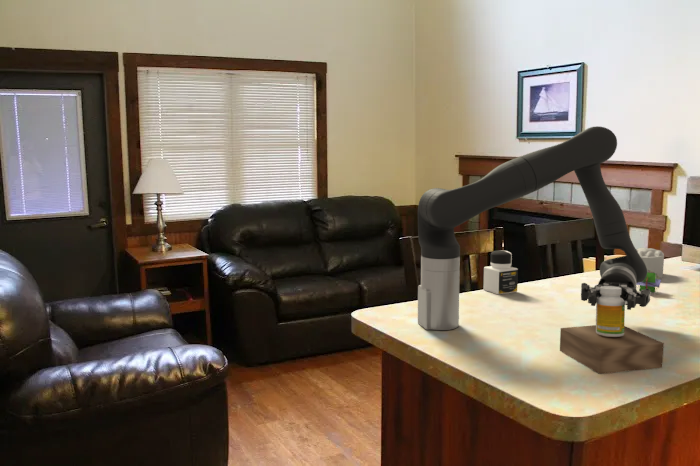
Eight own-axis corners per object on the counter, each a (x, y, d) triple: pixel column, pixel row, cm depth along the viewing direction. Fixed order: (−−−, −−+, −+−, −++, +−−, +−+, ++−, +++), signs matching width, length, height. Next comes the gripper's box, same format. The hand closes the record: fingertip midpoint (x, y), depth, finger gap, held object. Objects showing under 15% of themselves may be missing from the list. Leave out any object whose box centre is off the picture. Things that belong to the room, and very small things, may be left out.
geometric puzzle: (658, 290, 179) (661, 265, 182) (631, 287, 182) (635, 263, 185) (659, 301, 184) (662, 276, 187) (633, 298, 188) (637, 273, 191)
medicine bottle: (498, 295, 184) (499, 254, 182) (482, 289, 190) (483, 250, 188) (517, 292, 187) (519, 252, 185) (501, 287, 193) (502, 248, 192)
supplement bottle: (626, 338, 127) (628, 289, 126) (598, 337, 128) (599, 289, 127) (621, 331, 132) (622, 285, 131) (593, 330, 133) (594, 284, 132)
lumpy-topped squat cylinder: (663, 273, 211) (665, 247, 210) (661, 281, 200) (663, 254, 198) (629, 270, 216) (631, 245, 215) (625, 278, 205) (627, 251, 203)
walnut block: (599, 374, 122) (600, 349, 122) (559, 350, 136) (560, 328, 135) (662, 367, 125) (663, 343, 125) (617, 345, 139) (618, 323, 138)
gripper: (584, 265, 144) (573, 281, 129) (654, 271, 138) (652, 288, 123) (582, 298, 145) (572, 316, 130) (652, 305, 139) (649, 325, 124)
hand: (611, 302), depth 127 cm, fingers open, 6 cm apart
